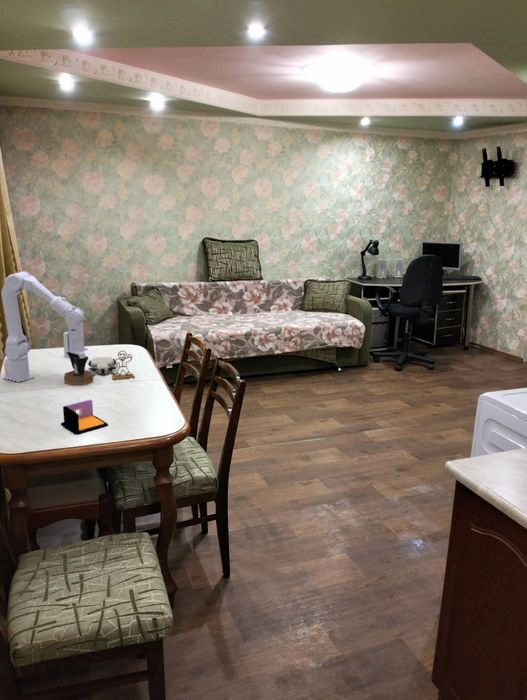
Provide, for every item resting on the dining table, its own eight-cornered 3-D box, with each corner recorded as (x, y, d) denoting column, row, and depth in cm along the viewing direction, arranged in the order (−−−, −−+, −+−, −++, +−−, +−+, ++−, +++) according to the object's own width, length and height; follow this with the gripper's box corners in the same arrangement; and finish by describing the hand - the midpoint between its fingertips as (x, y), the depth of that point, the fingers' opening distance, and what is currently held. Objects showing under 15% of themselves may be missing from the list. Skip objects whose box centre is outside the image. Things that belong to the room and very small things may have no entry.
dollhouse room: (59, 424, 182) (57, 405, 181) (92, 416, 190) (91, 397, 189) (75, 436, 174) (74, 416, 172) (109, 426, 182) (108, 407, 180)
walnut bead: (58, 382, 222) (58, 375, 221) (79, 375, 231) (79, 368, 231) (78, 387, 217) (77, 380, 216) (98, 379, 226) (98, 372, 226)
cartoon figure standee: (113, 380, 226) (111, 352, 223) (111, 377, 230) (110, 350, 227) (134, 378, 230) (133, 351, 226) (133, 375, 233) (132, 348, 230)
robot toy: (118, 377, 233) (116, 364, 247) (117, 367, 232) (116, 355, 245) (88, 379, 230) (88, 366, 243) (87, 369, 228) (87, 356, 242)
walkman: (83, 356, 258) (81, 332, 254) (80, 358, 255) (79, 333, 252) (67, 355, 258) (65, 331, 255) (64, 357, 256) (62, 332, 252)
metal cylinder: (73, 381, 223) (72, 362, 221) (78, 379, 226) (77, 361, 224) (78, 382, 222) (77, 364, 220) (84, 380, 225) (83, 362, 223)
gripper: (91, 341, 216) (93, 374, 219) (81, 333, 227) (83, 364, 231) (73, 343, 212) (75, 376, 216) (63, 335, 223) (65, 367, 227)
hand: (78, 370), depth 223 cm, fingers open, 7 cm apart
